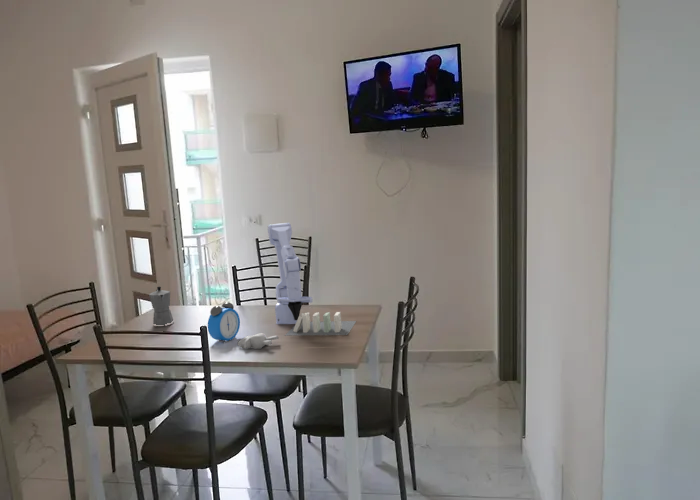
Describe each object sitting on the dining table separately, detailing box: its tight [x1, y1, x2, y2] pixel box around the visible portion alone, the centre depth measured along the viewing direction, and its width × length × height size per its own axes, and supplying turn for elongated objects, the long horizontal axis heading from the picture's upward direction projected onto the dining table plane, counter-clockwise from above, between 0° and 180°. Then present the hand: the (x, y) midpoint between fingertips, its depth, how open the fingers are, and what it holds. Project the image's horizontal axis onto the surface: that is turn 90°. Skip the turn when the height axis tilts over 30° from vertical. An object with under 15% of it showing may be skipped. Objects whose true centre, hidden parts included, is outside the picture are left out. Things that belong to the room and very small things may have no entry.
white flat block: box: [333, 311, 342, 332], centre depth 223 cm, size 2×5×7 cm, turn 168°
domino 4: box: [322, 311, 332, 332], centre depth 224 cm, size 2×5×7 cm, turn 168°
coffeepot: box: [148, 286, 174, 325], centre depth 254 cm, size 15×9×18 cm, turn 26°
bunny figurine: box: [237, 332, 279, 350], centre depth 211 cm, size 10×5×15 cm
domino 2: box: [302, 312, 311, 333], centre depth 226 cm, size 2×5×7 cm, turn 168°
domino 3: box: [312, 311, 321, 332], centre depth 225 cm, size 2×5×7 cm, turn 168°
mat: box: [284, 320, 357, 337], centre depth 229 cm, size 26×19×1 cm
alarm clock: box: [207, 301, 241, 343], centre depth 222 cm, size 13×6×15 cm, turn 151°
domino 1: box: [293, 312, 305, 333], centre depth 226 cm, size 2×5×7 cm, turn 169°
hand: (296, 319), depth 226 cm, fingers closed
